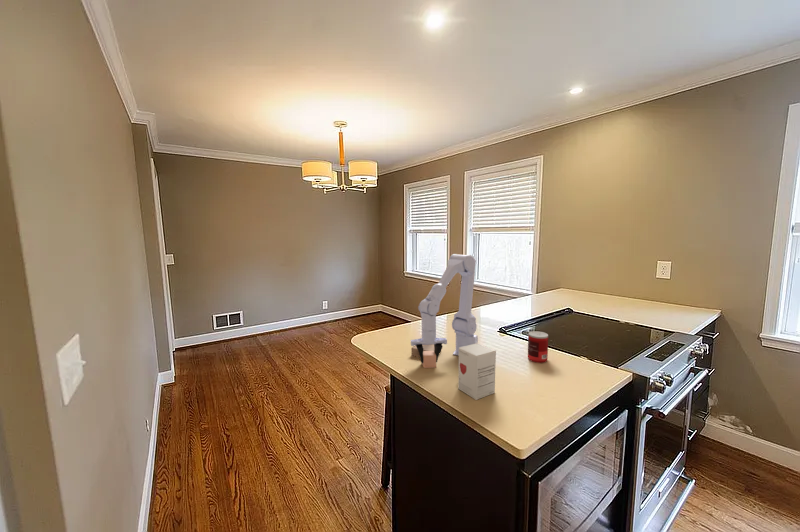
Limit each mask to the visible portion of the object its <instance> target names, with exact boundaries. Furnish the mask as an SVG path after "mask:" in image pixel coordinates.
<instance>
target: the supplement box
mask: <svg viewBox="0 0 800 532" xmlns="http://www.w3.org/2000/svg"><path fill="white" fill-rule="evenodd" d="M496 355H497V350H495V349H492V348H490V347H488V346H487V345H486V346H485V345H483V344H481V343H479V342H478V343H475V344H471V345H468V346H463V347H460V348H459V355H458V383H457V384H458V390H460V391H461V392H463V393H465V394H466V395H468V396H469V397H471V398H472V399H473V400H475V401H477V400H480V399H483V398H484V397H487V396H490V395H492V394H494V393H496V360H497V356H496Z"/></svg>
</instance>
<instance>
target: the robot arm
mask: <svg viewBox="0 0 800 532" xmlns="http://www.w3.org/2000/svg"><path fill="white" fill-rule="evenodd" d="M476 261H477V260H476V259H475V258H474V256H473V255H471V254H458V253H453V254H451V255H450V257H449V259H447V267H446V268H445V270H444V272H443V274H442V276H441V277H440V279H439V282H438V283H435V284H434V285H432V286H431V289H430V291H429V292H428V294H427V296H426V297H425V298H424V299H422V300H421V301H420V302H419V304H418V306H417V309H418V311H419V312H420V318H421V337H420V338H414V339H410V345H411V347H413V346H415V345H416V347H417V349H418V352H419V355H420V357H419V358H420V363H421V364H422V363H423V346H422V345H430V344H434V350H435V354H436V363H438V359H439V356H440V354H441V353H440V351H441V352H442V349H443V345H447V344H448V339H447V337H444V338H443V337H437V314H438V313H439V312H440V307H441V306H440V305H441V302H442V299H444V297H445V295H446V293H447V286H448V285H449V284H450V282H451V281H452V280H453V278H454V277H455V275H456V274H459V275H460V276H461V281H460V293H459V303H458V311H456V313H454V314H453V319H452V322H451V327H452V329H453V331H454V333H455V350H454V351H453V353H452V355H454V356H459V348H460V347H463V346H468V345H471V344H475V343H478V344H479V342H478V341H479V338H478V335H477V334H476V332H477V318H476V316H475V315H474V314H473V313H472V306H473V297H474V296H473V294H474V286H475V285H474V284H475V277H476V276H475V275H476V263H477V262H476ZM439 353H440V354H439Z"/></svg>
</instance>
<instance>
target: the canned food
mask: <svg viewBox="0 0 800 532" xmlns="http://www.w3.org/2000/svg"><path fill="white" fill-rule="evenodd" d="M527 336H528V337H527V340H528V341H527V359H528V360H529V361H530V362H533V363H537V364H542V363H546V362H547V361H548V358H549V357H548V354H549V353H548V352H549V334H548V333H546V332H544V331H539V330H538V331H537V330H536V331H535V330H534V331H530V332H528V335H527Z"/></svg>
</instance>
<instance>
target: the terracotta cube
mask: <svg viewBox="0 0 800 532" xmlns="http://www.w3.org/2000/svg"><path fill="white" fill-rule="evenodd" d="M421 364H422V367H423V368H424V369H425V368H426V369H427V368H430V369H431V368H437V362H436V354H435V352H434V351H423V363H421Z"/></svg>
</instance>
